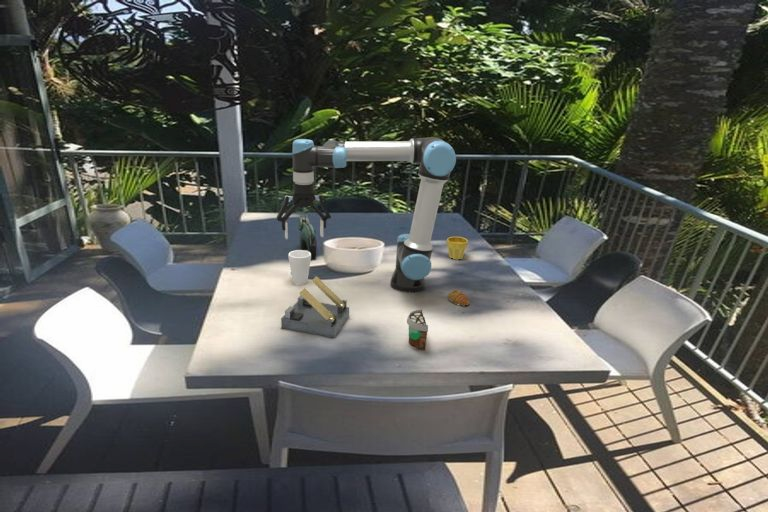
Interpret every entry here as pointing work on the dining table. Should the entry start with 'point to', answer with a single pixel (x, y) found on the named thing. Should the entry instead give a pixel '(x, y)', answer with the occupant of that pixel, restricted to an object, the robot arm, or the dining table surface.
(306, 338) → the dining table surface
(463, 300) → the pastry
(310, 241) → the ceramic cat
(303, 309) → the base
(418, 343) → the iced coffee cup
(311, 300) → the latch bar front
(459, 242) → the plant pot
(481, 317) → the dining table surface
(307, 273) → the foam cup
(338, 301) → the bar
